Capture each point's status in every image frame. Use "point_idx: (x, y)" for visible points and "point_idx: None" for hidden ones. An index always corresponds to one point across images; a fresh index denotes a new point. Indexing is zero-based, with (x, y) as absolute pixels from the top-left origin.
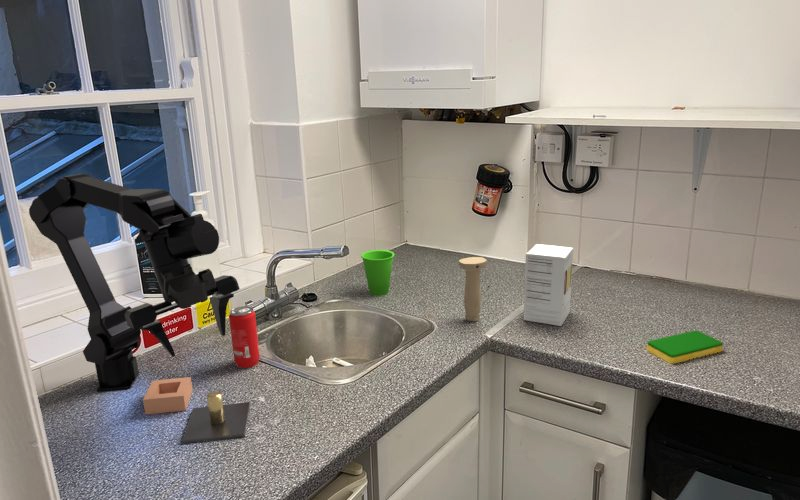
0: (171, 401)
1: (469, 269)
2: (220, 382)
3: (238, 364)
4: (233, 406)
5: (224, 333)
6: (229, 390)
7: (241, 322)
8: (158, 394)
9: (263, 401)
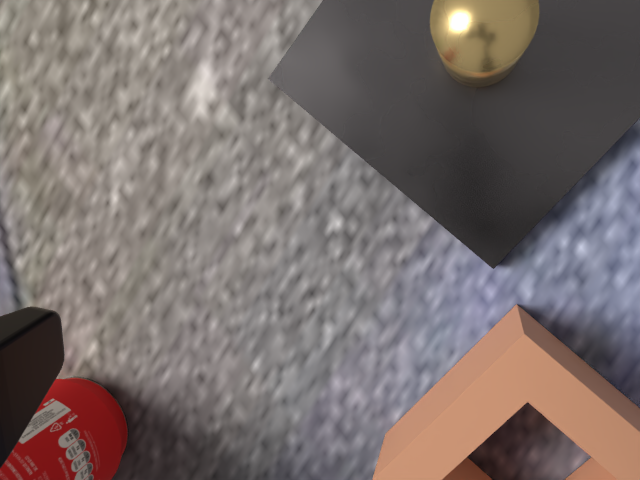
0: (578, 371)
1: None
2: (254, 387)
3: (120, 430)
4: (345, 109)
5: (22, 314)
6: (265, 288)
7: None
8: (613, 472)
9: (211, 59)
